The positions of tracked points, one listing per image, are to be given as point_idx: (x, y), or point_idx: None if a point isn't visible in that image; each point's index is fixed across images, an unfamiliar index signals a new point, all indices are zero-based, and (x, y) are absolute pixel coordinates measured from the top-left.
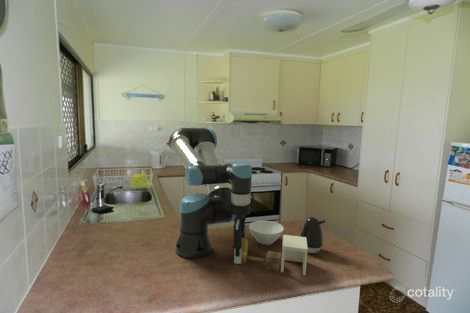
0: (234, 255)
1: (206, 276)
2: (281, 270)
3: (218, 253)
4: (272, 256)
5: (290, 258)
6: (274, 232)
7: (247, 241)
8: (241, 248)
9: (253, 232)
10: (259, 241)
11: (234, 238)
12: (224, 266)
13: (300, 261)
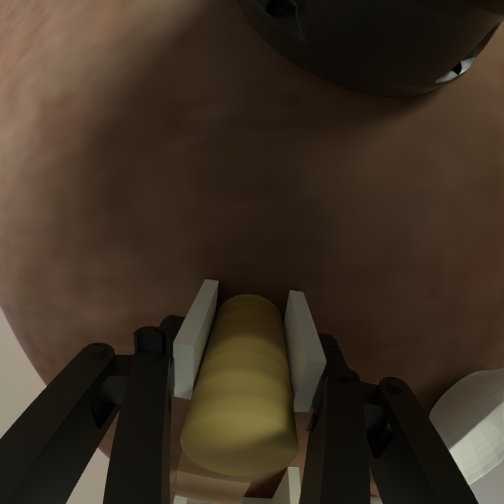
0: (193, 305)
1: (53, 135)
2: None
3: (345, 150)
4: (188, 485)
5: (281, 489)
6: (479, 438)
7: (223, 467)
8: (181, 393)
9: (477, 411)
10: (449, 396)
11: (27, 419)
12: (159, 216)
13: (273, 498)
